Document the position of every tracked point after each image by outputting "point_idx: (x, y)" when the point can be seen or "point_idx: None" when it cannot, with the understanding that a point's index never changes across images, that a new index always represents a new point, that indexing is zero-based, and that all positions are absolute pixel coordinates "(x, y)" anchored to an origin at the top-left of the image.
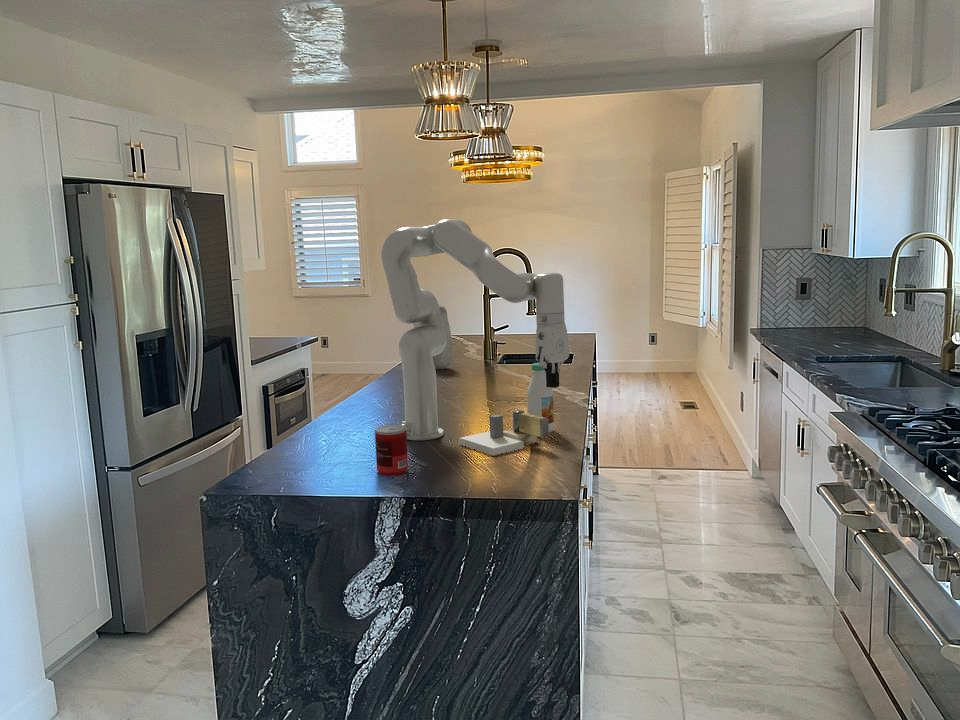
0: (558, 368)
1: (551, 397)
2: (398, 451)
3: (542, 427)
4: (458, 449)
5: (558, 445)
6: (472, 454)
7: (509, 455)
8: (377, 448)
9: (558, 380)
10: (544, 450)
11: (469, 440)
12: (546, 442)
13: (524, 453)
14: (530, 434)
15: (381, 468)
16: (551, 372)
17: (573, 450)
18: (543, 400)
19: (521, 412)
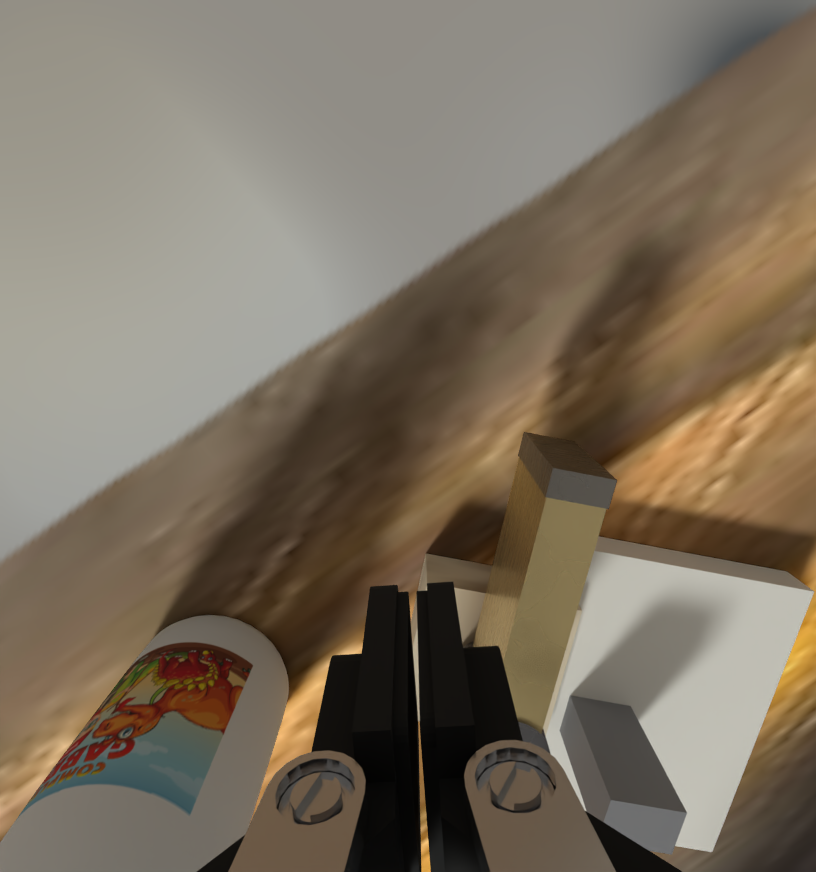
0: (298, 830)
1: (93, 774)
2: None
3: (593, 461)
4: (767, 773)
5: (410, 416)
6: (813, 667)
7: (735, 509)
8: None
9: (388, 631)
10: (546, 417)
11: (731, 783)
12: (397, 509)
13: (659, 469)
14: (479, 587)
15: None
16: (547, 793)
17: (450, 277)
18: (184, 783)
19: (521, 729)
